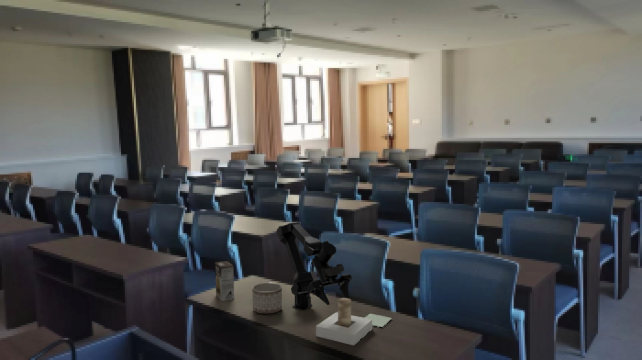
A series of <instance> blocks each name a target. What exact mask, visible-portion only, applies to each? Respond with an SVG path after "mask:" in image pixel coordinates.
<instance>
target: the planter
mask: <svg viewBox="0 0 642 360" xmlns="http://www.w3.org/2000/svg"><path fill="white" fill-rule="evenodd" d="M282 288H283V286H282V285H281V284H279V283H277V282H271V281H270V282H260V283H257V284H254V285H253V286H252V289H251V291H252V292H251V293H252V310H253V311H254V312H255V313H259V314H273V313H274V314H275V313H277V312H279V311H281V310H282V308H283V289H282Z"/></svg>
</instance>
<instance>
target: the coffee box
mask: <svg viewBox="0 0 642 360" xmlns="http://www.w3.org/2000/svg"><path fill="white" fill-rule="evenodd" d="M214 270H215V271H214V272H215V273H214V275H215V276H214V277H215V296H216V297H217V298H218V299H219V300H220V302H226V301H230V300H234V299H235V293H234V292H235V284H234V283H235V281H234V280H235V279H234V278H235V275H234V264H232V263H231V262H230V261H228V260H226V261H224V260H223V261H217V262H214Z"/></svg>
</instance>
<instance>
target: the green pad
mask: <svg viewBox="0 0 642 360" xmlns="http://www.w3.org/2000/svg"><path fill="white" fill-rule="evenodd" d="M364 318H367V319H371V320H372V327H374V326H377V327H376V328H379V327H383V326H384V325H385V326H387V325H388V324H389V323H390V322H391V321H392V320H393V318H392V317H388V316H384V315H379V314H374V313H369V314H368V315H366V316H365V317H364ZM391 319H392V320H391ZM390 320H391V321H390ZM389 321H390V322H389ZM388 322H389V323H388ZM387 323H388V324H387ZM385 326H384V327H385ZM384 327H383V328H384Z"/></svg>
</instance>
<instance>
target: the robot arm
mask: <svg viewBox="0 0 642 360" xmlns="http://www.w3.org/2000/svg"><path fill="white" fill-rule="evenodd" d="M276 235H277V237H278V239H279V241H280V242H281V243H282V244H283V245H284V246H285V249H286V251H287V254H288V258H289V260H290V263H291V267H292V270H293V272H294V278H293V285H292V286H291V288H290V291H291V294H293V295H294V305H292V308H295V309H299V310H303V311H305V310H307V309H309V308H310V307H311V306H313V304H312V296H315V297H317V298H318V299H320V300H321V301H322V302H323V303H324V304H325V305H327V306H330V301H329V298H328V296H327V294H326V292H325V288H326V287H329V286H334V285H338V286H339V291H340V292H341V293H342V295H343V298H348V299H350V296H349V295H350V294H349V284H350V283H351V282H352V280H353V278H354V277H352V275H351V274H350V273H344V274H342V273H343V272H344V271H345V266H344V264H343V263H338V264H336V265H335V266H332V265H330V263H329V262H330V261H331V260H332V259H333V257H334V256H335V254H336V253H337V247H336V246H335V245H334V244H333V243H330V242H329V241H328V240H325V241H324V240H323V242H322V241H321V240H319V238H315V237H314V236H312V235H311V234H310V233H308V232H307V230H306V229H304V227H303V226H302V225H301V222H300V221H291V222H289V223H286V224H284V225H279V226H278V228H277V229H276ZM296 239H297V240H298V241H299V242H300V243H301V244H302V246H303V251H304V253H305V254H306V256H307V257H312V258H311V262H310V266H314V268H315V271H316V272H317V273H316V277H317V278H319V279H317V280H314V277H313V275H312V271H307V269H306V268H305V264H304V263H303V259H302V256H301V254H300V251H299V248H298V246H297V242H296ZM313 256H314V257H313ZM339 275H340V276H339ZM311 295H312V296H311Z"/></svg>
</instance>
